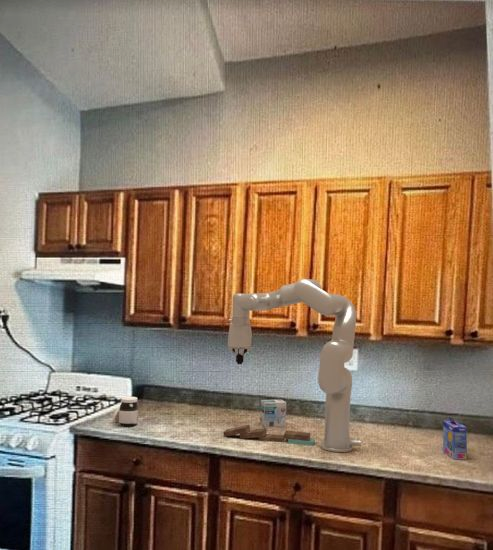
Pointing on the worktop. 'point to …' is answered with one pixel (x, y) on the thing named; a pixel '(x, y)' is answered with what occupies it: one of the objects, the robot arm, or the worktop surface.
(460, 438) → the ink cartridge box
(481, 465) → the worktop surface
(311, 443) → the teal domino
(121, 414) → the spread jar
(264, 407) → the light bulb box
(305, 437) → the walnut domino
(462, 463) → the worktop surface
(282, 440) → the walnut domino
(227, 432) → the walnut domino
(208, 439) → the worktop surface
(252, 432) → the walnut domino
